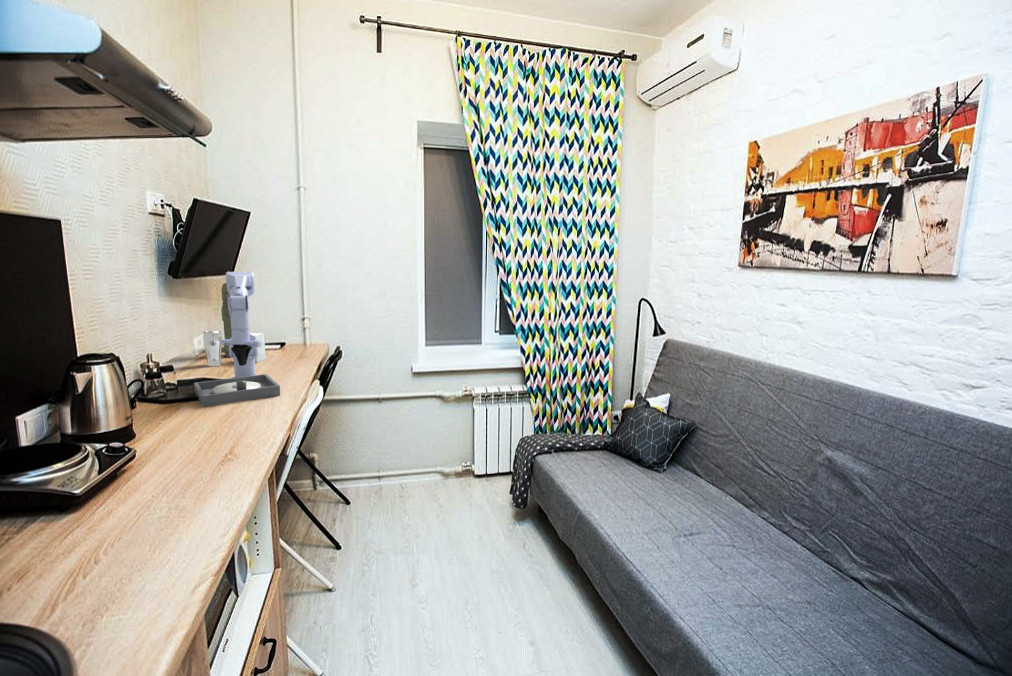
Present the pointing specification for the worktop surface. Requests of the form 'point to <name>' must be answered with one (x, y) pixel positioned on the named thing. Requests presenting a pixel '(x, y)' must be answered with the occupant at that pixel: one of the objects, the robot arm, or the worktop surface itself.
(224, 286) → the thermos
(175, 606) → the worktop surface
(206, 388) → the bezel plate
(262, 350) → the supplement box
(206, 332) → the beer glass
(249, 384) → the dial
